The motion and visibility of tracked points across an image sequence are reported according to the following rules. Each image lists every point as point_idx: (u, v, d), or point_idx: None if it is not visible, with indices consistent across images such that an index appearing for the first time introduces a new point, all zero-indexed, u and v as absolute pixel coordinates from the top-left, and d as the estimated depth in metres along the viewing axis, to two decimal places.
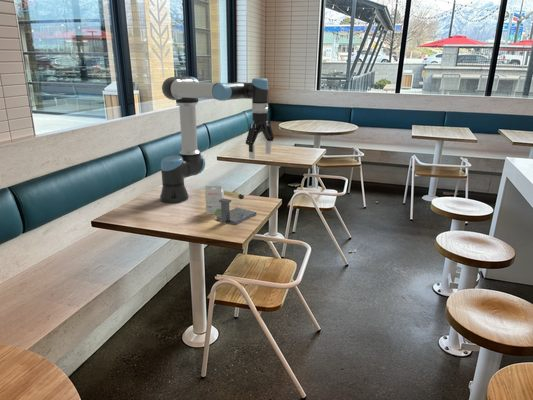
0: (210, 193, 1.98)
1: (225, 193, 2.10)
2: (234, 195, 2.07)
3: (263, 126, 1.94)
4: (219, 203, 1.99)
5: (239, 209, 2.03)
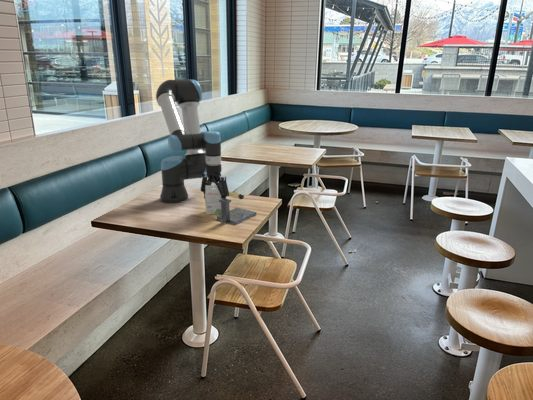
0: (210, 193, 1.98)
1: None
2: (234, 195, 2.07)
3: (213, 177, 1.96)
4: (219, 203, 1.99)
5: (239, 209, 2.03)
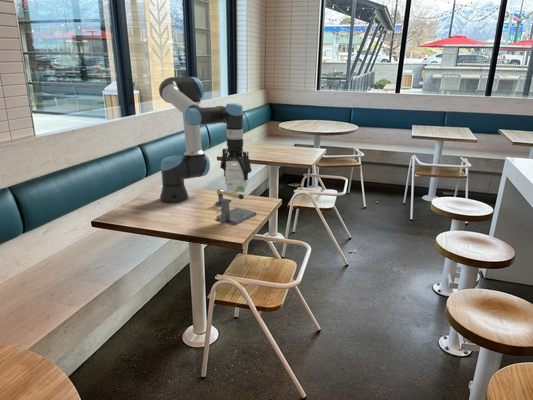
0: (231, 169, 1.87)
1: (225, 193, 2.10)
2: (234, 195, 2.07)
3: None
4: (240, 180, 1.89)
5: (239, 209, 2.03)
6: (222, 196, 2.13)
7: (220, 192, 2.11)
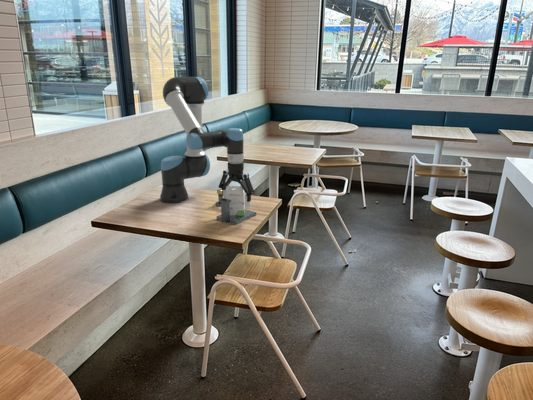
0: (231, 194, 1.91)
1: None
2: None
3: (235, 176, 1.89)
4: (240, 204, 1.93)
5: None
6: (222, 196, 2.13)
7: (220, 192, 2.11)
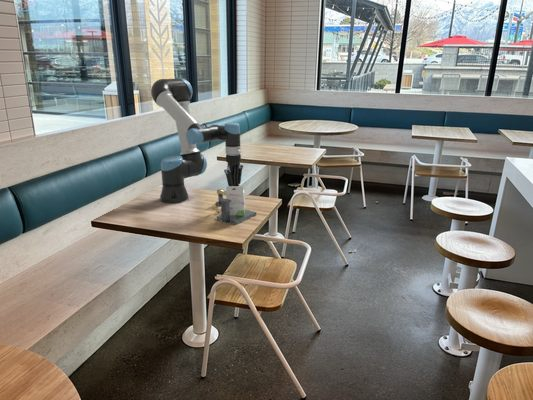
0: (231, 194, 1.91)
1: (225, 193, 2.10)
2: None
3: (236, 166, 2.05)
4: (240, 204, 1.93)
5: None
6: (222, 196, 2.13)
7: (220, 192, 2.11)
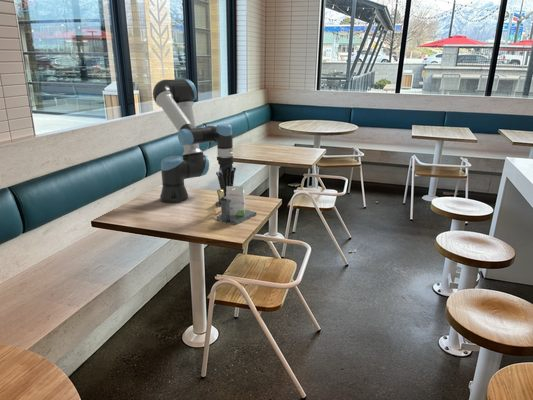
0: (231, 194, 1.91)
1: (219, 194, 2.09)
2: (220, 197, 2.03)
3: (229, 168, 2.01)
4: (240, 204, 1.93)
5: None
6: None
7: (218, 192, 2.12)
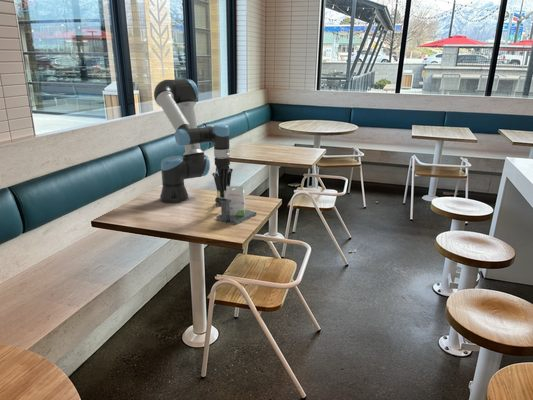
0: (231, 194, 1.91)
1: (217, 194, 2.09)
2: None
3: (225, 169, 1.99)
4: (240, 204, 1.93)
5: None
6: None
7: (217, 192, 2.12)
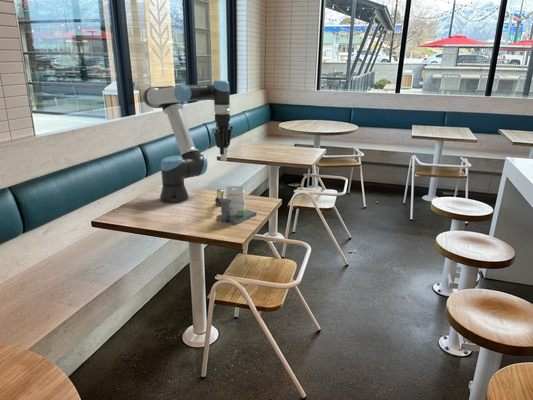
0: (231, 194, 1.91)
1: (217, 194, 2.09)
2: None
3: (225, 126, 2.00)
4: (240, 204, 1.93)
5: None
6: (222, 196, 2.13)
7: (217, 192, 2.12)
